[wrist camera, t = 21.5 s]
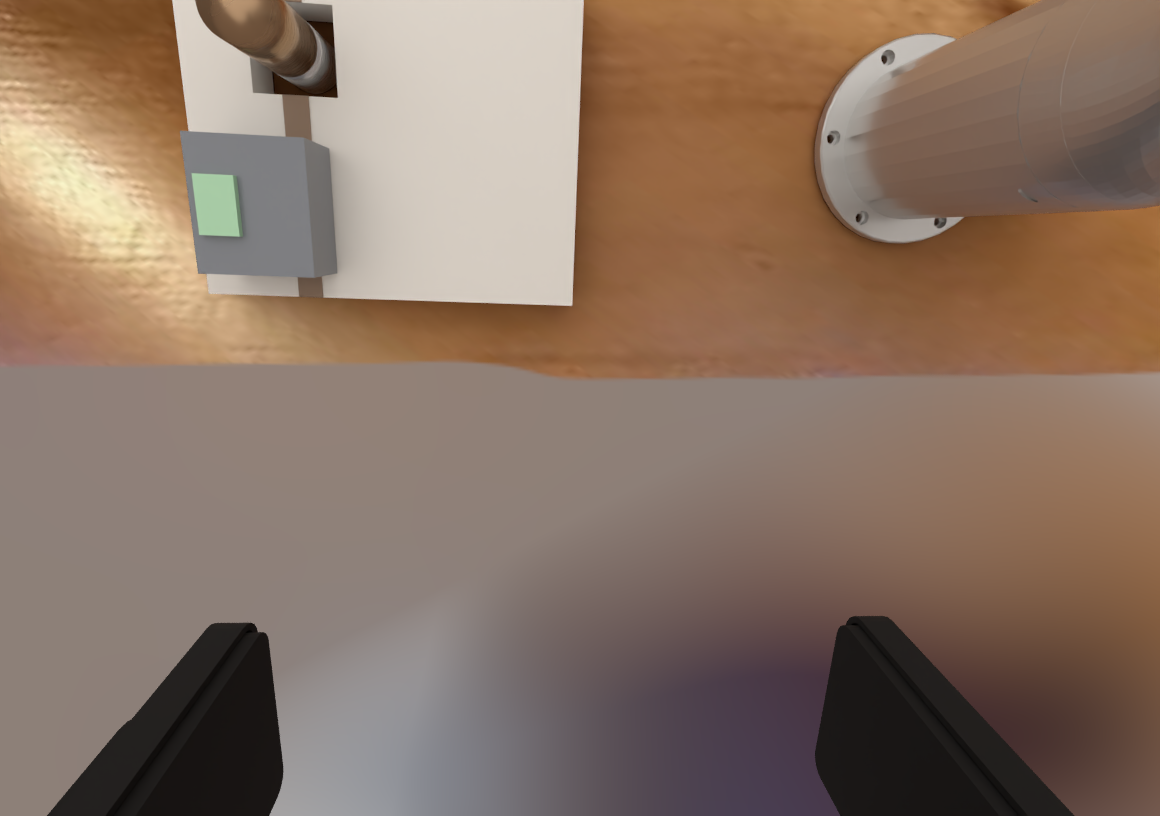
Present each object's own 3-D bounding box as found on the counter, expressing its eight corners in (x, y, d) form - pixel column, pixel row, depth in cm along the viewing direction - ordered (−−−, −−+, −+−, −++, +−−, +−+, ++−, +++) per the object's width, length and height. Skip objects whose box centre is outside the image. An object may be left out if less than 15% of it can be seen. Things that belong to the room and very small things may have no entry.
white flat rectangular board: (580, -2, 36) (584, -23, 33) (569, 300, 41) (572, 305, 38) (196, -31, 34) (164, -57, 31) (232, 289, 39) (207, 293, 36)
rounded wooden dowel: (338, 36, 36) (267, -37, 26) (341, 95, 37) (274, 46, 27) (282, 32, 36) (190, -43, 26) (287, 92, 36) (199, 41, 27)
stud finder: (329, 148, 35) (300, 136, 30) (337, 273, 36) (312, 278, 32) (219, 142, 34) (175, 129, 30) (233, 269, 36) (194, 273, 32)
